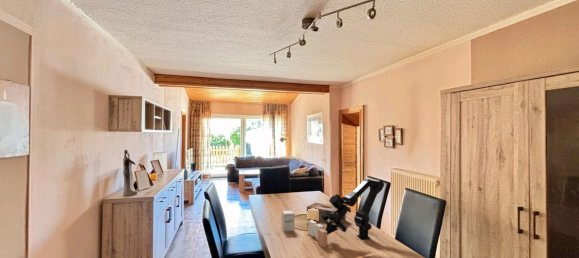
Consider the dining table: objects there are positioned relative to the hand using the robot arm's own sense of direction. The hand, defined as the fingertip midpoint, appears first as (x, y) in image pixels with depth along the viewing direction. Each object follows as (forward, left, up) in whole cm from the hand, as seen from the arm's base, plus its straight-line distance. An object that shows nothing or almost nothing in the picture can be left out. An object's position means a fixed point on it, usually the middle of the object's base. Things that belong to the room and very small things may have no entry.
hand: (325, 234), depth 155 cm
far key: (-16, -3, -6) cm, 17 cm away
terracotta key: (0, -2, -6) cm, 6 cm away
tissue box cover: (-45, +16, -7) cm, 49 cm away
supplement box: (-28, -17, -7) cm, 34 cm away
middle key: (-8, -1, -6) cm, 10 cm away
